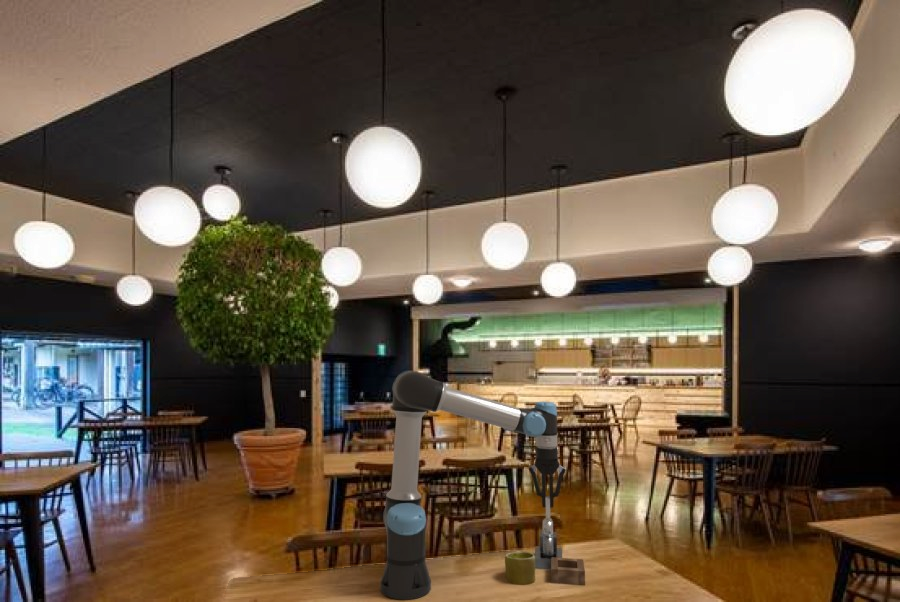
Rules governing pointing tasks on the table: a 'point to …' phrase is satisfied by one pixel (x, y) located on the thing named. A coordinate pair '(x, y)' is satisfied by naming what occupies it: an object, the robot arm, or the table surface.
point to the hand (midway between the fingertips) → (548, 517)
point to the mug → (520, 567)
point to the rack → (567, 571)
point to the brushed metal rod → (548, 539)
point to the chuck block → (539, 560)
